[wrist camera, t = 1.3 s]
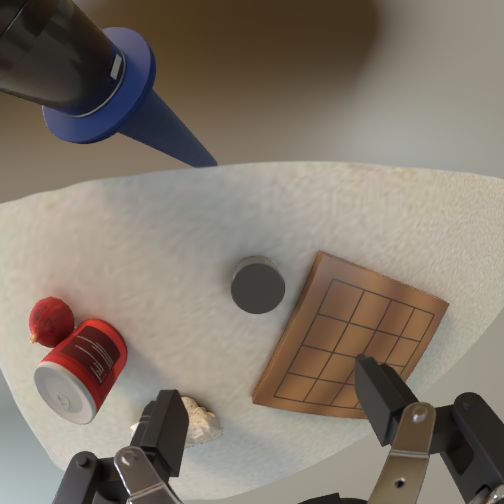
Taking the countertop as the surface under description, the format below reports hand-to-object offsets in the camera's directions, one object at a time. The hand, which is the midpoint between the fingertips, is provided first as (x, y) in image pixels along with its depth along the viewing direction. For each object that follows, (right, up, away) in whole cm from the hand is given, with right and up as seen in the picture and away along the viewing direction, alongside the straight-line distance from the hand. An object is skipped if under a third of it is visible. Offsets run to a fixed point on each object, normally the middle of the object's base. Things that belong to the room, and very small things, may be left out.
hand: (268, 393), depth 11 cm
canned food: (-19, -5, +19) cm, 28 cm away
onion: (-24, -1, +17) cm, 29 cm away
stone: (-11, -17, +22) cm, 29 cm away
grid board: (+12, -6, +20) cm, 24 cm away
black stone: (0, +3, +17) cm, 18 cm away
